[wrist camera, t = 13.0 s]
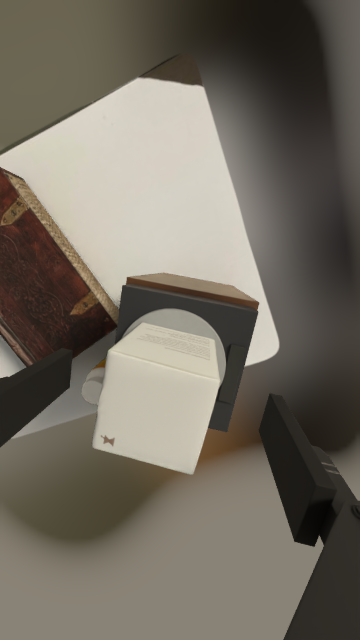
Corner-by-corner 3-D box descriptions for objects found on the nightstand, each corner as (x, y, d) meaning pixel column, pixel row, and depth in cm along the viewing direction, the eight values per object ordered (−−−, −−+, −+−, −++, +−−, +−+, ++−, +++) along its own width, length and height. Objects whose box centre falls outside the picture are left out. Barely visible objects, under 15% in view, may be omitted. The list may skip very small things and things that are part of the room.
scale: (252, 306, 21) (260, 313, 18) (224, 415, 24) (227, 437, 21) (131, 283, 22) (119, 285, 19) (116, 391, 24) (104, 409, 21)
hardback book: (-47, 246, 44) (-78, 244, 39) (24, 179, 40) (-1, 166, 35) (53, 372, 47) (36, 384, 43) (127, 320, 44) (117, 326, 39)
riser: (233, 285, 41) (259, 302, 21) (217, 352, 43) (228, 421, 24) (163, 272, 41) (126, 276, 22) (152, 338, 44) (111, 394, 24)
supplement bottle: (97, 365, 46) (69, 390, 37) (115, 348, 45) (92, 369, 36) (116, 385, 47) (94, 415, 37) (136, 368, 45) (117, 395, 36)
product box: (197, 405, 20) (193, 480, 13) (127, 387, 21) (87, 450, 13) (216, 338, 19) (223, 380, 12) (141, 319, 19) (104, 349, 12)
